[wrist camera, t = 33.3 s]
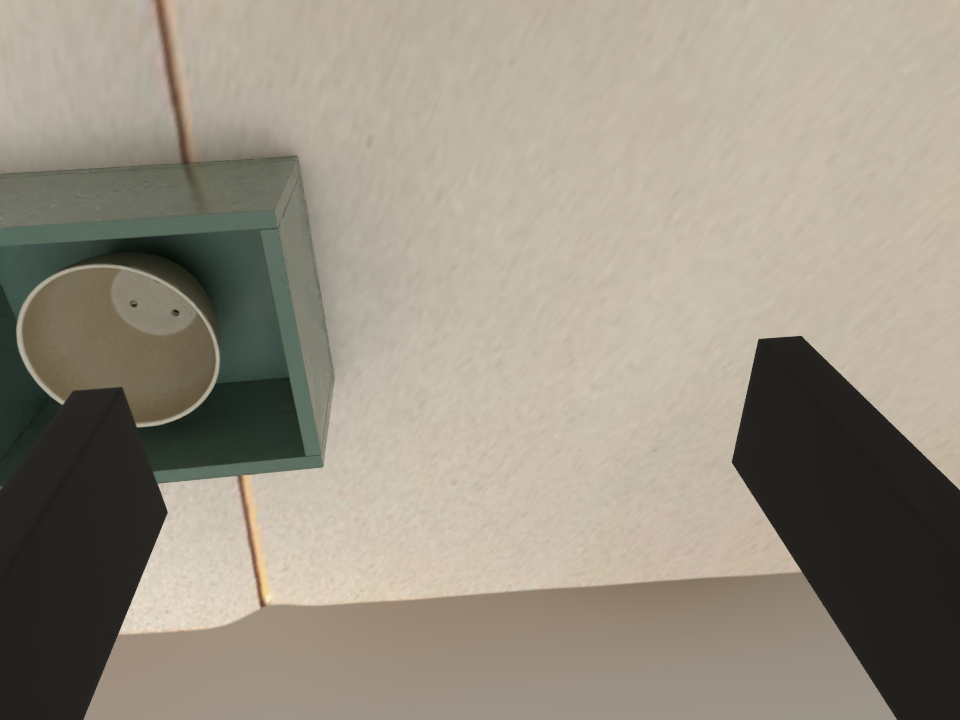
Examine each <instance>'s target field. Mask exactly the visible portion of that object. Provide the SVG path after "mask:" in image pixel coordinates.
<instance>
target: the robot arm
mask: <svg viewBox="0 0 960 720" xmlns="http://www.w3.org/2000/svg"><path fill="white" fill-rule="evenodd" d="M732 464H733V465H734V467H735V468H736V470H737V471H738V473H739V474H740V476H741V478H742V479H743V481H744V482H745V484H746V485H747V487H748V488H749V490H750V492H751V493H752V495H753V496H754V498H755V499H756V501H757V502H758V504H759V506H760V507H761V509H762V510H763V512H764V513H765V515H766V516H767V518H768V520H769V521H770V523H771V524H772V526H773V527H774V529H775V530H776V532H777V534H778V535H779V537H780V538H781V540H782V541H783V543H784V544H785V546H786V548H787V549H788V551H789V552H790V554H791V555H792V557H793V558H794V560H795V562H796V563H797V565H798V566H799V568H800V569H801V571H802V572H803V574H804V576H805V577H806V579H807V580H808V582H809V583H810V585H811V586H812V588H813V590H814V591H815V593H816V594H817V596H818V597H819V599H820V600H821V602H822V604H823V605H824V606H825V608H826V610H827V611H828V613H829V614H830V616H831V618H832V619H833V621H834V622H835V624H836V625H837V627H838V628H839V630H840V632H841V633H842V634H843V636H844V638H845V639H846V641H847V642H848V644H849V646H850V647H851V649H852V650H853V652H854V653H855V655H856V656H857V658H858V660H859V661H860V663H861V664H862V666H863V667H864V669H865V670H866V672H867V673H868V675H869V677H870V678H871V680H872V681H873V683H874V684H875V686H876V687H877V689H878V690H879V692H880V694H881V695H882V697H883V698H884V700H885V702H886V703H887V705H888V706H889V708H890V709H891V711H892V712H893V714H894V716H895V717H896V718H897V720H960V490H959V489H958V488H957V487H956V486H955V485H954V484H953V483H952V482H951V481H950V480H949V479H948V478H947V477H946V476H945V475H944V474H943V473H942V472H941V471H940V470H938V469H937V468H936V467H935V466H934V465H933V464H932V463H931V462H930V461H929V460H928V459H927V458H926V457H925V456H924V455H923V454H922V453H921V452H920V451H919V450H918V449H917V448H916V447H915V446H914V445H913V444H912V443H911V442H910V441H909V440H908V439H907V438H906V437H905V436H904V435H902V434H901V433H900V432H899V431H898V430H897V429H896V428H895V427H894V426H893V425H892V424H891V423H890V422H889V421H888V420H887V419H886V418H885V417H884V416H883V415H882V414H881V413H880V412H879V411H878V410H877V409H876V408H875V407H874V406H873V405H872V404H871V403H870V402H869V401H868V400H866V399H865V398H864V397H863V396H862V395H861V394H860V393H859V392H858V391H857V390H856V389H855V388H854V387H853V386H852V385H851V384H850V383H849V382H848V381H847V380H846V379H845V378H844V377H843V376H842V375H841V374H840V373H839V372H838V371H837V370H836V369H835V368H834V367H833V366H832V365H830V364H829V363H828V362H827V361H826V360H825V359H824V358H823V357H822V356H821V355H820V354H819V353H818V352H817V351H816V350H815V349H814V348H813V347H812V346H811V345H810V344H809V343H808V342H807V341H806V340H805V339H804V338H803V337H802V336H794V337H780V338H767V339H759V340H758V344H757V349H756V353H755V358H754V363H753V367H752V372H751V376H750V381H749V386H748V390H747V395H746V399H745V404H744V409H743V413H742V418H741V422H740V427H739V432H738V436H737V441H736V445H735V450H734V455H733V459H732ZM167 513H168V512H167V509H166V506H165V503H164V501H163V498H162V495H161V492H160V489H159V487H158V484H157V481H156V478H155V476H154V473H153V470H152V467H151V465H150V462H149V459H148V456H147V454H146V451H145V448H144V445H143V443H142V440H141V437H140V434H139V431H138V429H137V426H136V423H135V420H134V418H133V415H132V412H131V409H130V407H129V404H128V401H127V398H126V396H125V393H124V390H123V387H115V388H102V389H88V390H75V391H73V392H72V393H71V394H70V396H69V397H68V398H67V400H66V401H65V402H64V404H63V405H62V407H61V408H60V409H59V411H58V412H57V413H56V415H55V416H54V417H53V419H52V420H51V422H50V423H49V424H48V426H47V427H46V428H45V430H44V431H43V433H42V434H41V435H40V437H39V438H38V439H37V441H36V442H35V443H34V445H33V446H32V448H31V449H30V450H29V452H28V453H27V454H26V456H25V457H24V458H23V460H22V461H21V463H20V464H19V465H18V467H17V468H16V469H15V471H14V472H13V474H12V475H11V476H10V478H9V479H8V480H7V482H6V483H5V484H4V486H3V487H2V489H1V490H0V720H83V719H84V717H85V714H86V712H87V709H88V707H89V704H90V702H91V699H92V697H93V695H94V692H95V690H96V687H97V685H98V682H99V680H100V677H101V675H102V673H103V670H104V668H105V665H106V662H107V660H108V658H109V655H110V653H111V650H112V648H113V645H114V643H115V641H116V638H117V636H118V633H119V631H120V628H121V626H122V623H123V621H124V619H125V616H126V614H127V611H128V609H129V606H130V604H131V601H132V599H133V597H134V594H135V592H136V589H137V587H138V584H139V582H140V579H141V577H142V574H143V572H144V570H145V567H146V565H147V562H148V560H149V557H150V555H151V552H152V550H153V547H154V545H155V543H156V540H157V538H158V535H159V533H160V530H161V528H162V525H163V523H164V520H165V518H166V516H167Z"/></svg>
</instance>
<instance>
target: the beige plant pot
mask: <svg viewBox="0 0 960 720" xmlns="http://www.w3.org/2000/svg"><path fill="white" fill-rule="evenodd" d="M133 304H136V305H137V306H135V307H133ZM175 310H177V311H178V312H176V311H175ZM16 333H17V344H18V349H19V352H20V355H21V357H22V360H23V362H24V364H25V366H26V368H27V370H28V371H29V373H30V374H31V376H32V377H33V378H34V380H35V381H36V382H37V384H38V385H39V386H40V387H41V388H42V389H43V390H44V391H45V392H46V393H47V394H49V395H50V396H51V397H52V398H53V399H54V400H56V401H57V402H59V403H60V404H61V405H63V404H64V402H65V401H66V400H67V398H68V397H69V396H70V394H71V393H72V392H73V391H75V390H88V389H102V388H115V387H123V390H124V393H125V396H126V398H127V401H128V404H129V407H130V409H131V412H132V415H133V418H134V420H135V423H136V426H137V427H150V426H157V425H161V424H165V423H168V422H172V421H174V420H177V419H179V418H181V417H183V416H185V415H187V414H189V413H190V412H192V411H193V410H194V409H196V408H197V407H198V406H199V405H200V404H201V403H202V402H203V401H204V400H205V399H206V398H207V397H208V395H209V394H210V392H211V391H212V389H213V387H214V385H215V383H216V380H217V377H218V373H219V368H220V361H221V336H220V328H219V323H218V319H217V315H216V312H215V309H214V307H213V305H212V302H211V300H210V298H209V297H208V295H207V293H206V292H205V290H204V289H203V287H202V286H201V284H200V283H199V282H198V281H197V280H196V279H195V278H194V277H193V276H192V275H191V274H190V273H189V272H188V271H187V270H185V269H184V268H183V267H181V266H180V265H178V264H176V263H174V262H172V261H170V260H168V259H166V258H163V257H159V256H156V255H152V254H146V253H137V252H118V253H110V254H104V255H99V256H95V257H92V258H88V259H85V260H82V261H80V262H77V263H74V264H72V265H70V266H67V267H65V268H63V269H62V270H60V271H58V272H56V273H54V274H53V275H51V276H50V277H48V278H47V279H45V280H43V281H42V282H41V283H39V284H38V285H37V286H36V287H35V288H34V289H33V290H32V291H31V293H30V294H29V295H28V297H27V298H26V300H25V301H24V303H23V305H22V307H21V309H20V312H19V315H18V320H17V327H16Z"/></svg>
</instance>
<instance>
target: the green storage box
mask: <svg viewBox="0 0 960 720" xmlns="http://www.w3.org/2000/svg"><path fill="white" fill-rule="evenodd" d="M118 252H137V253H146V254H152V255H156V256H159V257H163V258H166V259H168V260H170V261H172V262H174V263H176V264H178V265H180V266H181V267H183V268H184V269H185V270H187V271H188V272H189V273H190V274H191V275H192V276H193V277H194V278H195V279H196V280H197V281H198V282H199V283H200V284H201V286H202V287H203V289H204V290H205V292H206V293H207V295H208V297H209V298H210V300H211V302H212V305H213V307H214V309H215V312H216V315H217V319H218V323H219V328H220V336H221V361H220V368H219V373H218V377H217V380H216V383H215V385H214V387H213V389H212V391H211V392H210V394H209V395H208V397H207V398H206V399H205V400H204V401H203V402H202V403H201V404H200V405H199V406H198V407H197V408H196V409H194V410H193V411H192V412H190V413H189V414H187V415H185V416H183V417H181V418H179V419H177V420H174V421H172V422H168V423H165V424H161V425H157V426H150V427H137V429H138V431H139V434H140V437H141V440H142V443H143V445H144V448H145V451H146V454H147V456H148V459H149V462H150V465H151V467H152V470H153V473H154V476H155V478H156V481H157V484H158V483H168V482H179V481H189V480H199V479H209V478H219V477H229V476H240V475H250V474H260V473H270V472H280V471H291V470H301V469H311V468H321V467H323V465H324V457H325V449H326V441H327V433H328V425H329V417H330V409H331V401H332V393H333V385H334V372H333V366H332V360H331V353H330V347H329V341H328V335H327V329H326V323H325V317H324V311H323V305H322V299H321V293H320V287H319V281H318V275H317V269H316V263H315V257H314V251H313V245H312V239H311V233H310V226H309V220H308V214H307V208H306V202H305V196H304V190H303V184H302V178H301V172H300V166H299V160H298V157H283V158H267V159H250V160H233V161H216V162H199V163H182V164H165V165H149V166H132V167H115V168H98V169H81V170H64V171H47V172H31V173H14V174H0V490H1V489H2V487H3V486H4V484H5V483H6V482H7V480H8V479H9V478H10V476H11V475H12V474H13V472H14V471H15V469H16V468H17V467H18V465H19V464H20V463H21V461H22V460H23V458H24V457H25V456H26V454H27V453H28V452H29V450H30V449H31V448H32V446H33V445H34V443H35V442H36V441H37V439H38V438H39V437H40V435H41V434H42V433H43V431H44V430H45V428H46V427H47V426H48V424H49V423H50V422H51V420H52V419H53V417H54V416H55V415H56V413H57V412H58V411H59V409H60V408H61V407H62V405H61V404H60V403H59V402H57V401H56V400H54V399H53V398H52V397H51V396H50V395H49V394H47V393H46V392H45V391H44V390H43V389H42V388H41V387H40V386H39V385H38V384H37V382H36V381H35V380H34V378H33V377H32V376H31V374H30V373H29V371H28V370H27V368H26V366H25V364H24V362H23V360H22V357H21V355H20V352H19V349H18V344H17V333H16V327H17V320H18V315H19V312H20V309H21V307H22V305H23V303H24V301H25V300H26V298H27V297H28V295H29V294H30V293H31V291H32V290H33V289H34V288H35V287H36V286H37V285H38V284H39V283H41V282H42V281H43V280H45V279H47V278H48V277H50V276H51V275H53V274H54V273H56V272H58V271H60V270H62V269H63V268H65V267H67V266H70V265H72V264H74V263H77V262H80V261H82V260H85V259H88V258H92V257H95V256H99V255H104V254H110V253H118ZM135 306H137V305H136V304H133V307H135ZM175 311H176V312H178V311H177V310H175Z"/></svg>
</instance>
